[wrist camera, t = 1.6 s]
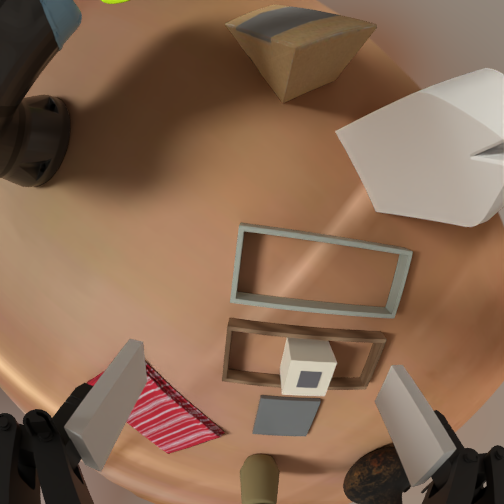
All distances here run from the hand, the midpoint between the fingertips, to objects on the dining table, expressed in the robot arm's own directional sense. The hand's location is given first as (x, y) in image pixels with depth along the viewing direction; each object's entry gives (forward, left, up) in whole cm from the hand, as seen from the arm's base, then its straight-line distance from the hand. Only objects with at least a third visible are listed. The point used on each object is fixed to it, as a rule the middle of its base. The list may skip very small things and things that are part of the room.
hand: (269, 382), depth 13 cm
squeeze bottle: (+6, -43, -23) cm, 49 cm away
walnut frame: (+8, -13, -23) cm, 27 cm away
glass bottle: (+34, -45, -23) cm, 61 cm away
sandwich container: (-2, +29, -23) cm, 37 cm away
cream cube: (+8, -13, -23) cm, 28 cm away
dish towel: (-16, -31, -24) cm, 42 cm away
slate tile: (+8, -27, -23) cm, 36 cm away
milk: (+15, +17, -23) cm, 32 cm away
